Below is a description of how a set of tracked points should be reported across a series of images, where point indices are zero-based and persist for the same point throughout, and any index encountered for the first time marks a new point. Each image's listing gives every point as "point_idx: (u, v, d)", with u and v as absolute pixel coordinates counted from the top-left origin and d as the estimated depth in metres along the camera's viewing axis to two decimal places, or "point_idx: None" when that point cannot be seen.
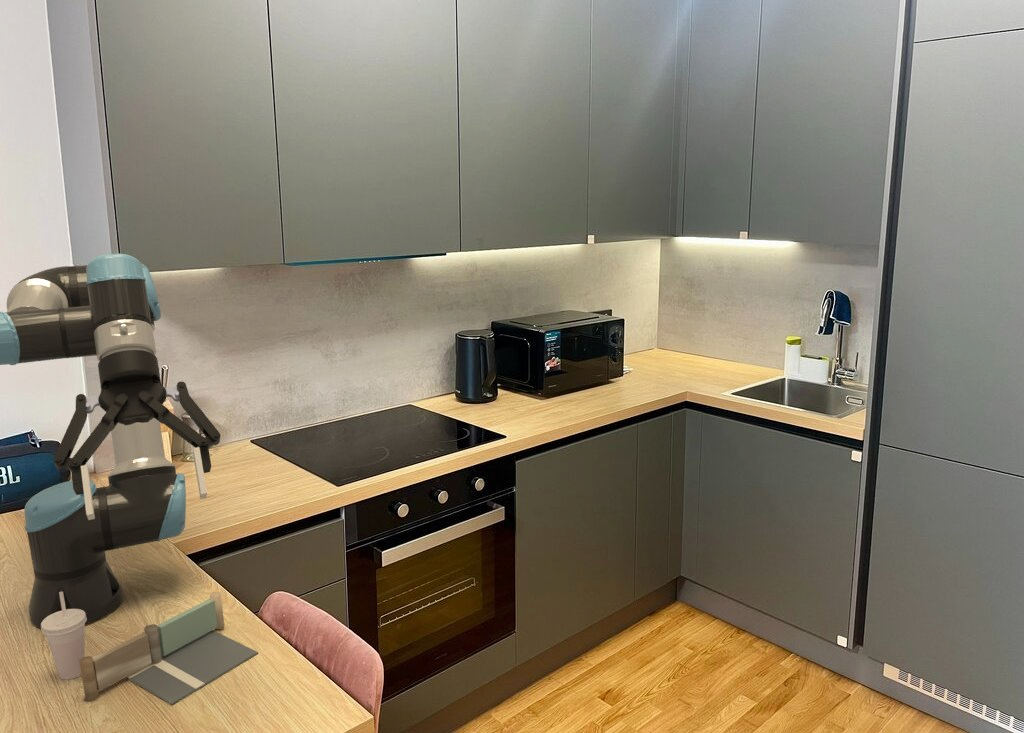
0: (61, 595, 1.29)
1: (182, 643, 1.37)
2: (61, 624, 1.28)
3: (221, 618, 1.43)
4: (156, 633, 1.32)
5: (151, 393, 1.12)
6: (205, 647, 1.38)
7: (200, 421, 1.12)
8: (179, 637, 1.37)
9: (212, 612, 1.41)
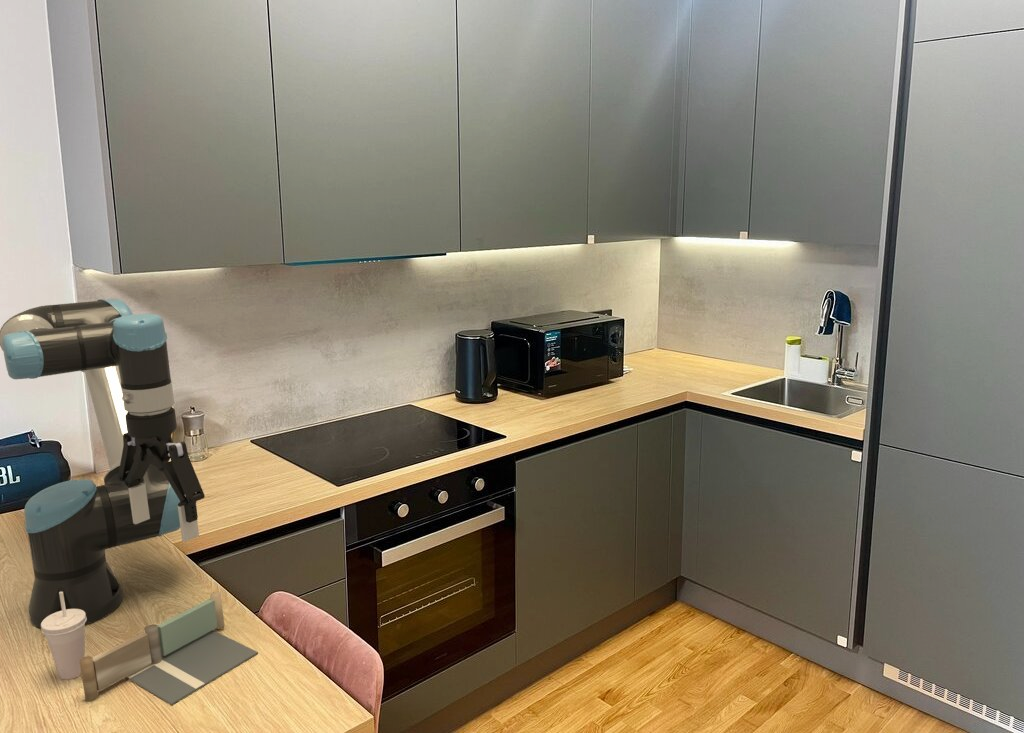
0: (61, 595, 1.29)
1: (182, 643, 1.37)
2: (61, 624, 1.28)
3: (221, 618, 1.43)
4: (156, 633, 1.32)
5: (156, 448, 1.33)
6: (205, 647, 1.38)
7: (181, 484, 1.31)
8: (179, 637, 1.37)
9: (212, 612, 1.41)
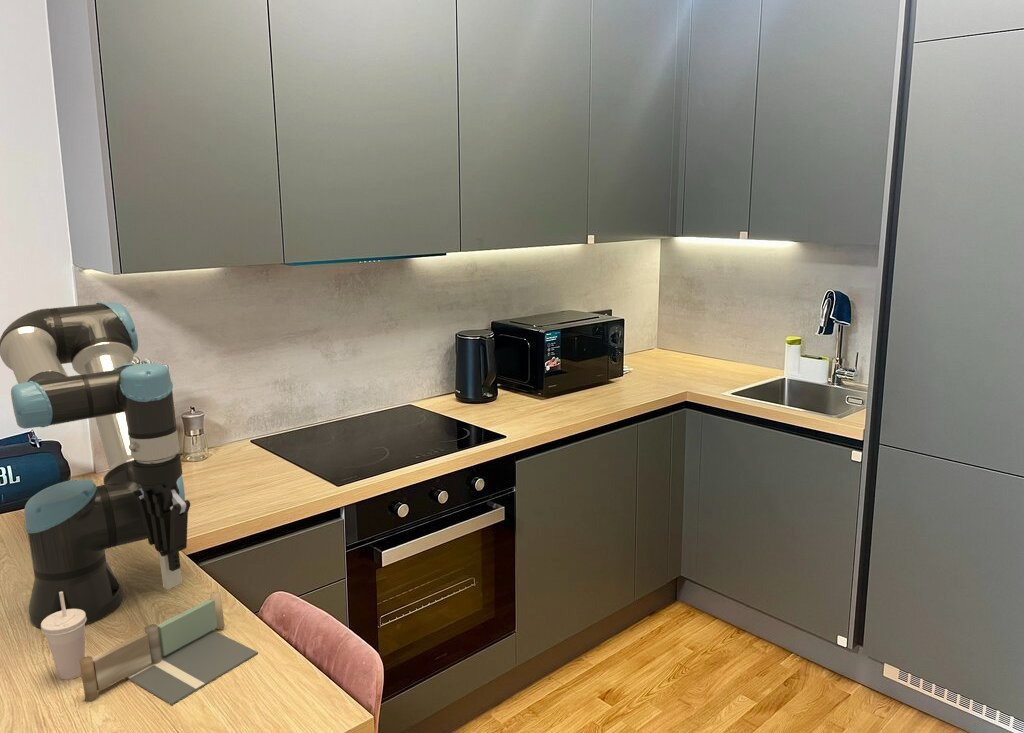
0: (61, 595, 1.29)
1: (182, 643, 1.37)
2: (61, 624, 1.28)
3: (221, 618, 1.43)
4: (156, 633, 1.32)
5: (162, 492, 1.36)
6: (205, 647, 1.38)
7: (170, 535, 1.37)
8: (179, 637, 1.37)
9: (212, 612, 1.41)
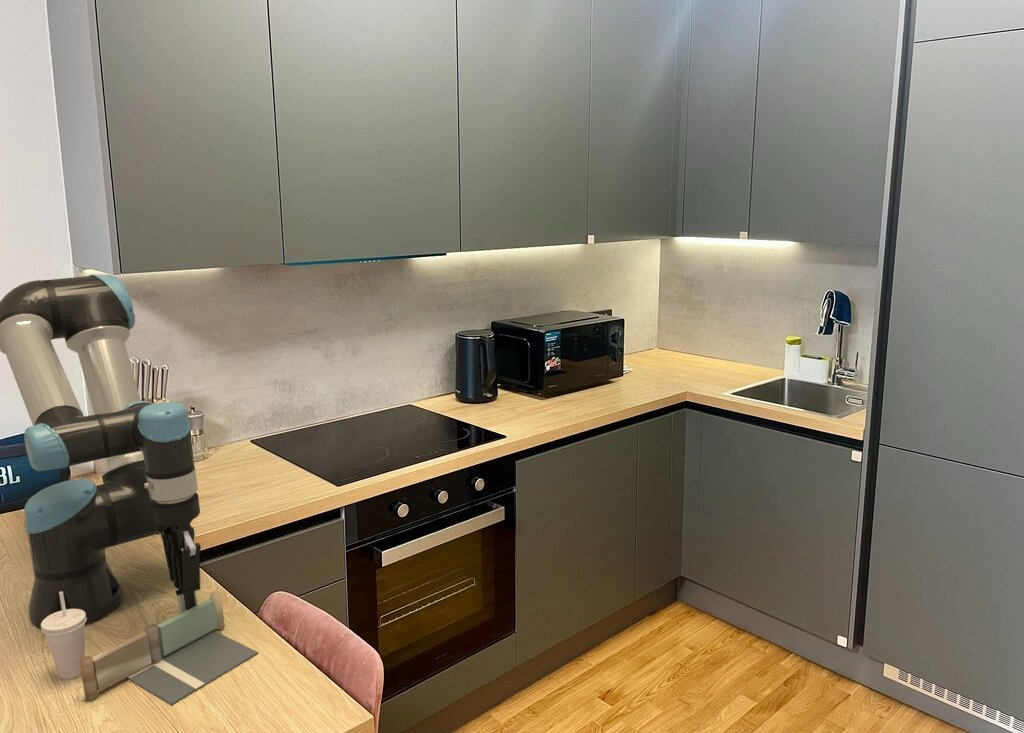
0: (61, 595, 1.29)
1: (182, 643, 1.37)
2: (61, 624, 1.28)
3: (221, 618, 1.43)
4: (156, 633, 1.32)
5: (175, 532, 1.35)
6: (205, 647, 1.38)
7: (183, 575, 1.36)
8: (179, 637, 1.37)
9: (212, 612, 1.41)
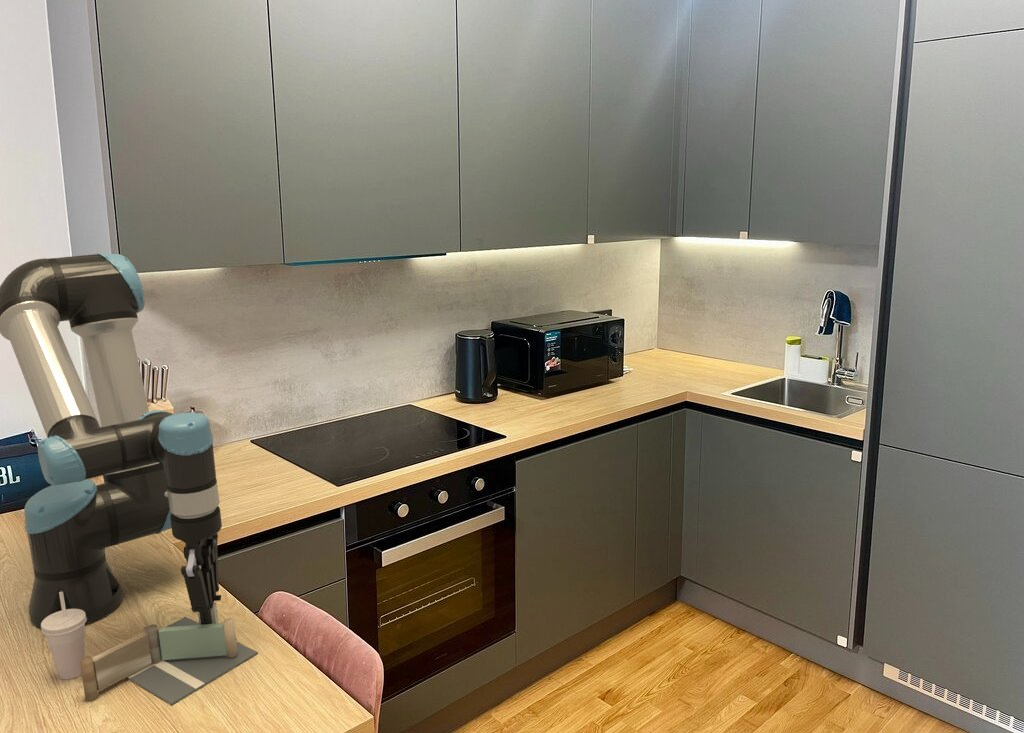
0: (61, 595, 1.29)
1: (183, 656, 1.34)
2: (61, 624, 1.28)
3: (230, 648, 1.34)
4: (156, 633, 1.32)
5: None
6: None
7: None
8: (180, 648, 1.33)
9: (220, 638, 1.34)
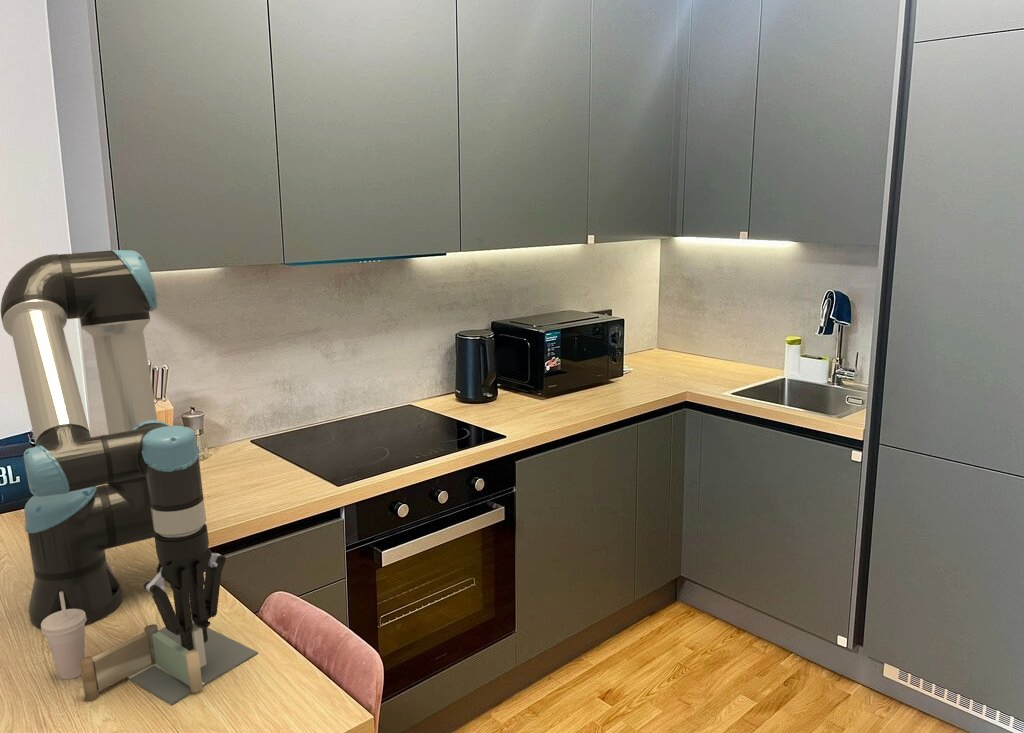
0: (61, 595, 1.29)
1: (166, 668, 1.31)
2: (61, 624, 1.28)
3: (190, 681, 1.26)
4: None
5: None
6: (205, 647, 1.38)
7: None
8: (164, 659, 1.30)
9: (185, 667, 1.26)
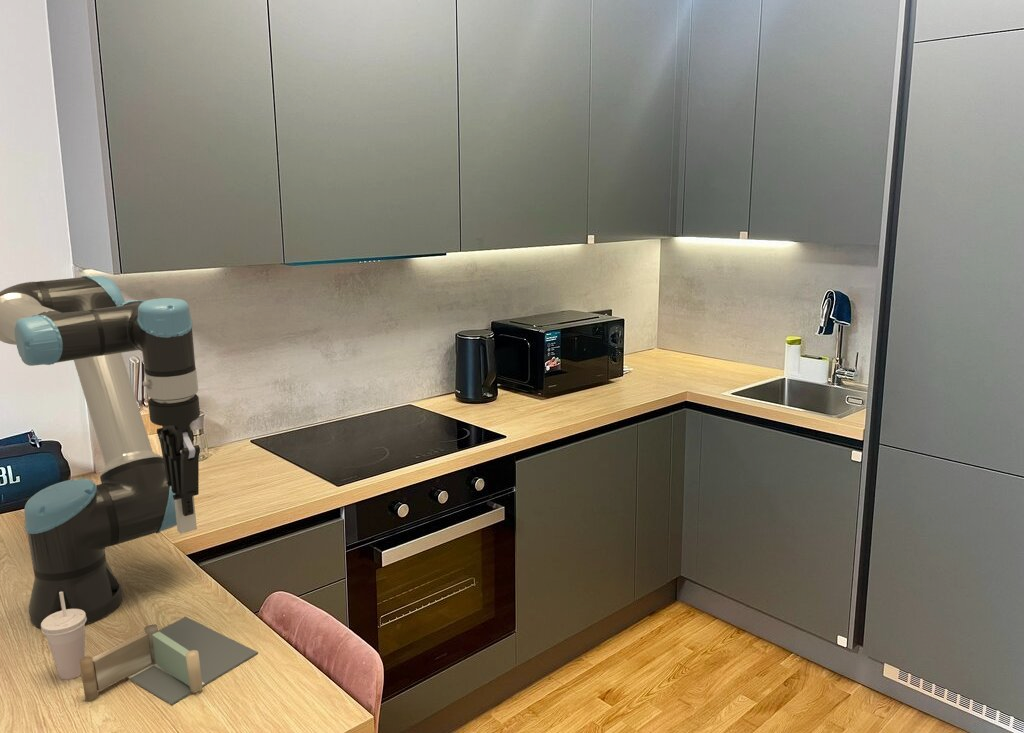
0: (61, 595, 1.29)
1: (166, 668, 1.30)
2: (61, 624, 1.28)
3: (190, 681, 1.25)
4: None
5: (174, 433, 1.30)
6: (205, 647, 1.38)
7: (181, 479, 1.31)
8: (164, 659, 1.30)
9: (185, 667, 1.26)
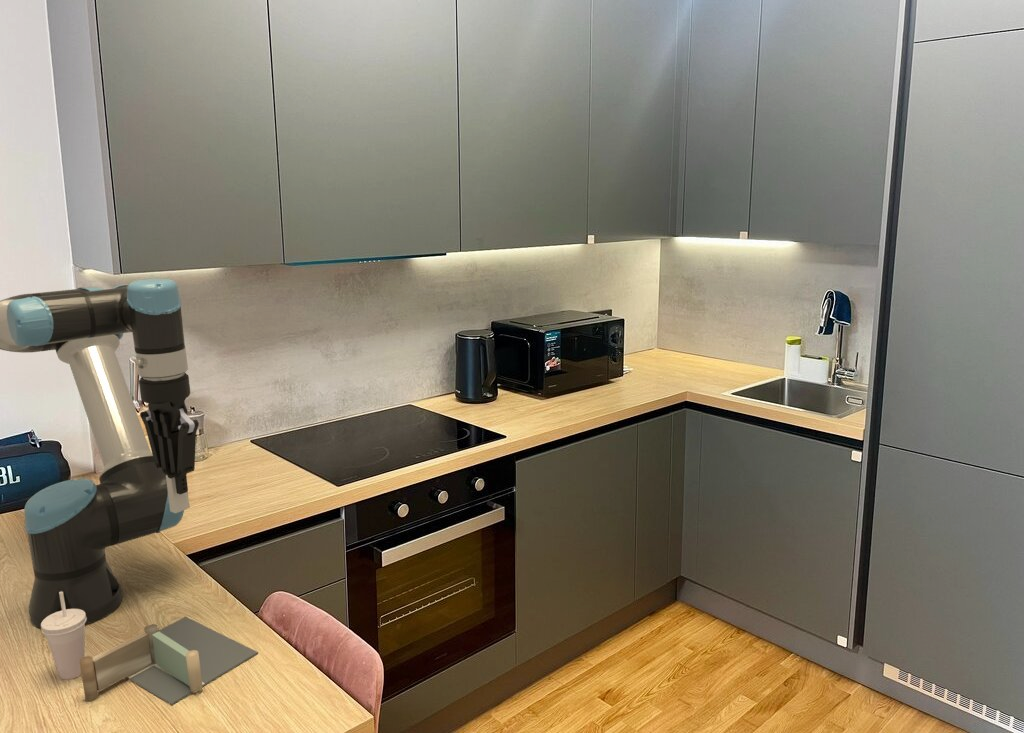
0: (61, 595, 1.29)
1: (166, 668, 1.30)
2: (61, 624, 1.28)
3: (190, 681, 1.25)
4: None
5: (169, 411, 1.32)
6: (205, 647, 1.38)
7: (178, 456, 1.33)
8: (164, 659, 1.30)
9: (185, 667, 1.26)
